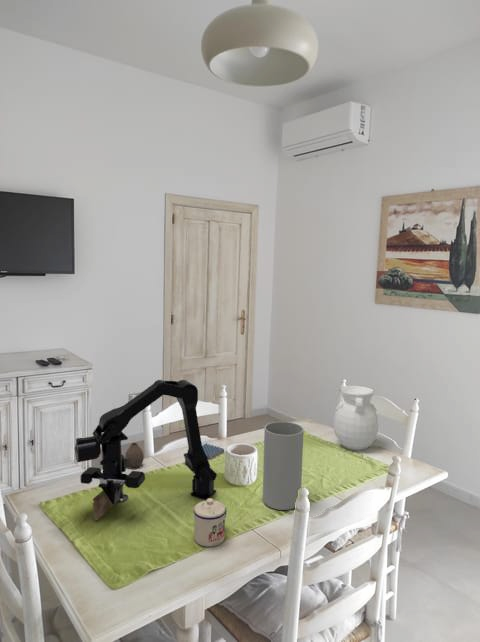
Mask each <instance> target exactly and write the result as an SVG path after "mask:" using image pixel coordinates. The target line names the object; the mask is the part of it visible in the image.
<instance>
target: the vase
mask: <svg viewBox="0 0 480 642" xmlns="http://www.w3.org/2000/svg"><path fill="white" fill-rule="evenodd" d="M124 458H131V459H130V468H131V469H137V468H139V467H140V466H141V465H142V464H143V462H144V458H145V457H144V451H143V450H142V448H141V447H140V446H139V444H138V443H137V442H132V443H131V444H130V446H129V447H128V448H127V449H126V452H125V454H124ZM130 468H129V469H130Z"/></svg>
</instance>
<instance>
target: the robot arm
mask: <svg viewBox="0 0 480 642" xmlns="http://www.w3.org/2000/svg"><path fill="white" fill-rule="evenodd" d="M163 396H167V397H172V398H176V400H177V402H178V404H179V406H180V408H181V411H182V416H183V417H182V419H183V423H184V429H185V435H186V441H187V446H188V450H187V452H186V453H183V457H184V465H185V466H186V467H187V468H188V469H189V471H191V472H192V473H193V474H194V475H193V476H192V477H193V479H192V485H191V488H192V489H191V490H192V492H191V493H190V496H192V497H194V498H195V497H196V498H200V499H203V500H207V499H209V498H211V497H212V496H213V495H214V494H215V493H216V492H217V489H215V481H216V478H217V476H218V474H217V473H216V472H215V471H214V470H213V469H212V468H211V464H210V462H209V461H210V460H208V458H207V456H206V454H205V452H204V450H203V448H202V445H203V443H202V437H201V431H200V425H199V420H198V413H197V405H198V402H199V390H198V388H197V386H196V385H194V384H193V383H191V382H190V381H189V380H186V379H180V380H178V381H175V380H163V379H158V380H155V382H153V383H152V384H151V385H149V387H147V388H146V389H144V390H142V392H140V393H139V394H137V395H136V396H134V397H133V398H132V399H130V400H129V401H128V402H126V403H125V404H123V405H122V406H120V407H116V408H113V409H111V410H108V411H107V412H105V413H104V414H102V415H101V416H100V417H99V421H98V425H97V426H96V427H95V429H94V430H93V432H92V435H93V436H87V437H78V438H76V439H75V445H74V455H75V460H76V463H82V462H86V461H91V460H96V459H98V458H100V455H101V460H100V462H99V465H100V466H102V469H101V467H92V466H89V467H87V469H86V470H84V471H83V472H82V473H81V474H80V480H79V481H80V483H81V484H87V485H89V484H90V483H92V482H93V479H94V480H99V484H98V488H101V489H102V491H104V492H105V493H106V495H107V496H108V498H109V499H110V501H111V503H112V504H114V505H115V504H116V503H117V502H116V500H117V496H118V493H119V490H120V488H121V487H122V486H123V487H124V486H126V487H127V488H130V489H138V488H140V487H141V486H142V484H143V483H144V482H145V481H146V474H145V473H144V471H139V470H137V471H136V470H132V471H130V472H129V474H127V473H125V472H126V471H127V469H130V459H131V458H125V455H124V454H122V441H127V440H128V439H129V438H128V436H127V434H125V433H124V432H123V431H124V430H125V428H127V426H128V424H129V423H130V421H131V420H132V419H133V418H134V417H136V416H137V415H139V414H140V413H142V411H144V410H145V409H147V408H148V407H149V406H151V405H152V404H153V403H154V402H156V401H157V400H158V399H160V398H161V397H163Z"/></svg>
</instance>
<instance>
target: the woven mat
mask: <svg viewBox="0 0 480 642" xmlns="http://www.w3.org/2000/svg"><path fill="white" fill-rule="evenodd" d="M202 448H203V450H204V452H205V454H206V456H207V458H208V461H212V460H213V459H215V458H217V457H218V456H219V455H222V454H224V453H225V449H224V448H223V447H220V446H217V445H213V444H210V443H209V444H208V443H204V444H203V443H202Z"/></svg>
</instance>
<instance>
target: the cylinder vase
mask: <svg viewBox="0 0 480 642" xmlns="http://www.w3.org/2000/svg"><path fill="white" fill-rule="evenodd" d="M304 430H305V429H304V428H303V426H302V425H300V424H298V423H295V422H294V423H293V422H291V421H290V422H289V421H274V422H269V423H267V424H265V425H264V432H263V433H264V434H263V435H264V437H263V438H264V439H263V466H262V467H263V468H262V469H263V471H262V472H263V474H262V501H263V503H264V504H265V505H266V506H268V508H271V509H274V510H278V511H290V510H293V509H295V502H296V499H297V497H298V490H299V489H300V488H301V489H302V478H303V477H302V475H303V451H304V450H303V449H304Z"/></svg>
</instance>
